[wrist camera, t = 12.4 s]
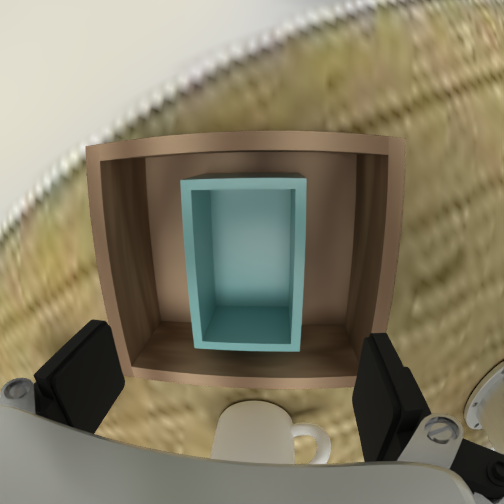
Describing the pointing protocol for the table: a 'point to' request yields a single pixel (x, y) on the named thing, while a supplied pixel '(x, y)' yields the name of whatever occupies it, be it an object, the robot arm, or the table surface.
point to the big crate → (316, 251)
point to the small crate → (245, 259)
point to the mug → (264, 435)
